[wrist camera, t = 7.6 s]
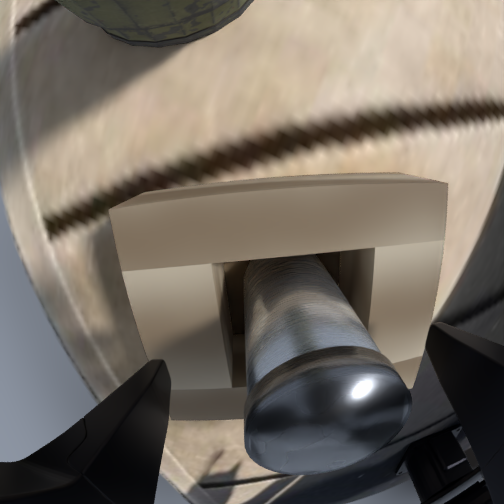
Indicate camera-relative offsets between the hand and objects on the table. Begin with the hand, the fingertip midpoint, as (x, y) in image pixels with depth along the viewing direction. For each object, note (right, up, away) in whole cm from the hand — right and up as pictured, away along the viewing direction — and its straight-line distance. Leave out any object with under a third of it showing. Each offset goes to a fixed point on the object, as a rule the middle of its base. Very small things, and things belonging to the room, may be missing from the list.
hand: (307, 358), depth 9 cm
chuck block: (0, +2, +6) cm, 6 cm away
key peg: (0, +2, +6) cm, 6 cm away
